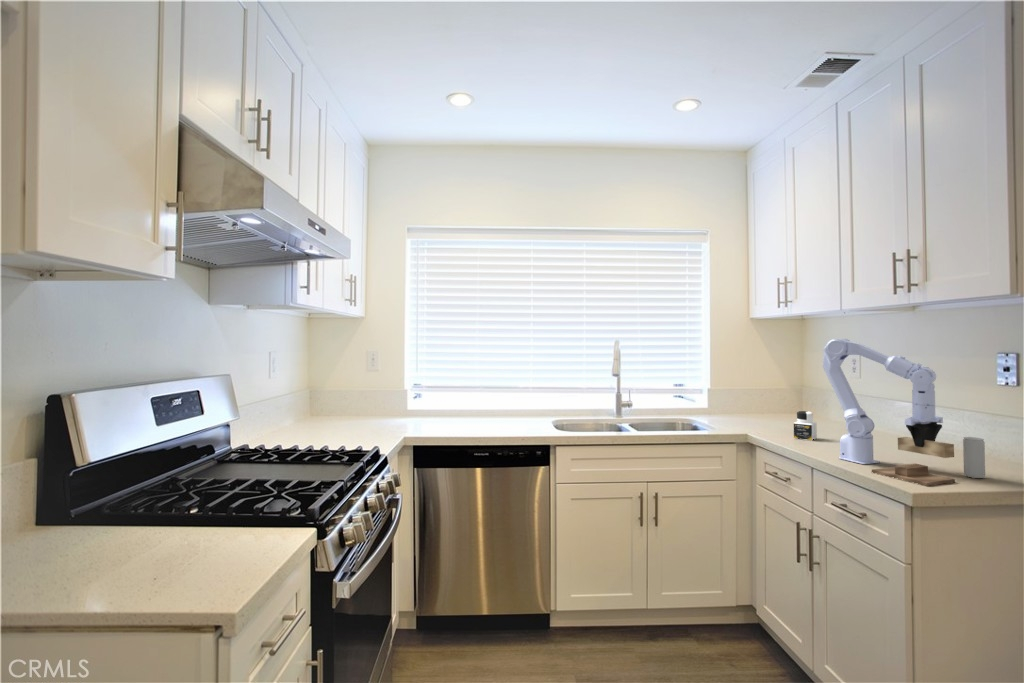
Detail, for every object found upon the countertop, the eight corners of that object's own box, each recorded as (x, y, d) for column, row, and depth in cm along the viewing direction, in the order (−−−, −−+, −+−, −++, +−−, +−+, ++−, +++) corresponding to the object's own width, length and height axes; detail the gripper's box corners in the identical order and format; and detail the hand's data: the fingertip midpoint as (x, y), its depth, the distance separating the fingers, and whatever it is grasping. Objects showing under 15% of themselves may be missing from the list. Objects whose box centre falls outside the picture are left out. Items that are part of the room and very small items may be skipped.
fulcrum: (871, 472, 156) (871, 461, 156) (898, 469, 159) (898, 458, 159) (926, 486, 141) (926, 474, 141) (955, 482, 144) (954, 470, 144)
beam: (897, 449, 163) (897, 437, 163) (906, 448, 164) (906, 436, 165) (945, 458, 150) (944, 445, 150) (954, 457, 151) (953, 444, 151)
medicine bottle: (793, 438, 212) (793, 411, 212) (798, 436, 217) (798, 409, 217) (812, 441, 207) (811, 413, 207) (817, 438, 212) (816, 411, 212)
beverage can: (978, 479, 146) (977, 440, 147) (959, 475, 151) (959, 437, 151) (989, 478, 148) (988, 439, 148) (970, 474, 152) (969, 436, 152)
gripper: (921, 407, 152) (921, 450, 152) (953, 404, 156) (953, 446, 156) (897, 404, 158) (898, 445, 158) (928, 402, 162) (929, 442, 162)
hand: (924, 446), depth 157 cm, fingers closed on beam, 4 cm apart
